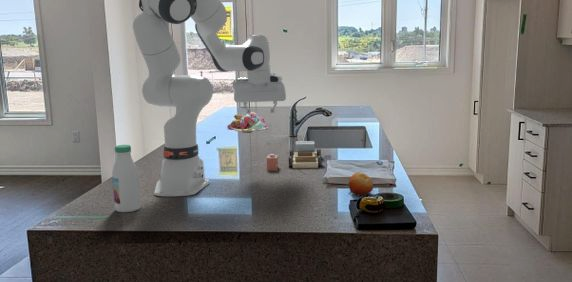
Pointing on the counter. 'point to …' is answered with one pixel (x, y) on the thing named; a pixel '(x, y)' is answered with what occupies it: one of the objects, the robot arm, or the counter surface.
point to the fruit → (360, 184)
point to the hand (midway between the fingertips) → (260, 112)
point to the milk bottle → (125, 181)
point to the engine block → (272, 162)
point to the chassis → (305, 155)
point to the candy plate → (248, 123)
